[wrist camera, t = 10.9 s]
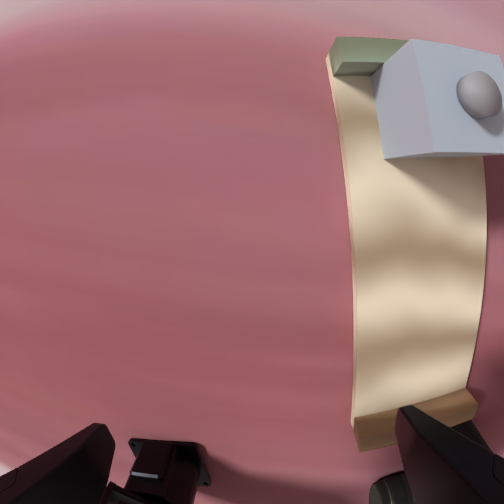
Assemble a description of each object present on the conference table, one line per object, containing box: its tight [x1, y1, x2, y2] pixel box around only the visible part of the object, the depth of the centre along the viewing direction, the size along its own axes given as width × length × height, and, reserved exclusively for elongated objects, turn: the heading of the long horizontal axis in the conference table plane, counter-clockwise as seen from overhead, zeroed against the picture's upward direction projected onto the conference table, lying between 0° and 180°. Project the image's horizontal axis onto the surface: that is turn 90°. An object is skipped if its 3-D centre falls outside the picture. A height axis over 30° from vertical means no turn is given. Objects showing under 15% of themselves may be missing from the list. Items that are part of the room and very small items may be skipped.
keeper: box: [370, 39, 504, 159], centre depth 12 cm, size 5×6×7 cm
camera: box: [369, 419, 492, 504], centre depth 18 cm, size 14×11×10 cm
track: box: [326, 37, 487, 452], centre depth 17 cm, size 26×10×4 cm, turn 8°
